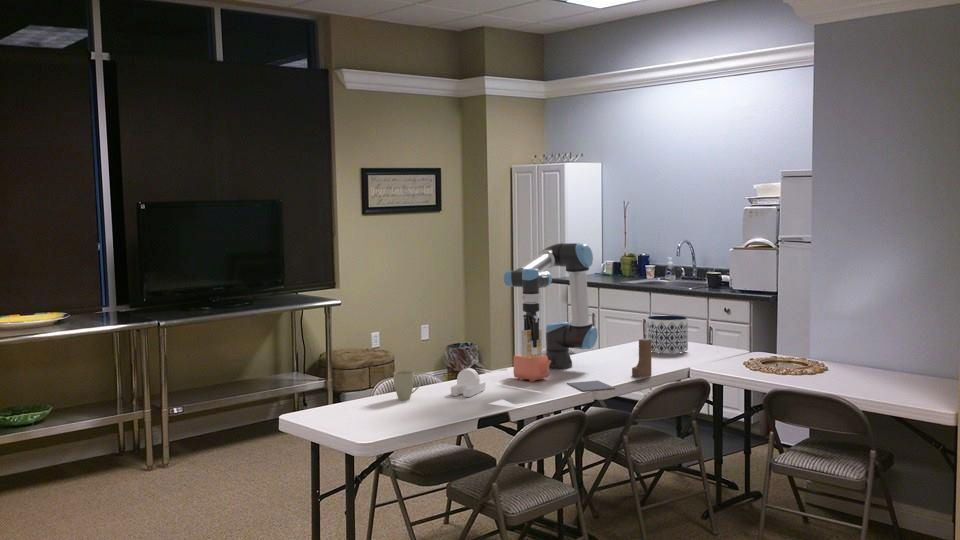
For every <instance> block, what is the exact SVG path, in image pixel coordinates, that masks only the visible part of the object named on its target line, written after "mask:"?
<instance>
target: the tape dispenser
mask: <svg viewBox="0 0 960 540" xmlns="http://www.w3.org/2000/svg"><path fill="white" fill-rule="evenodd" d="M456 377H457V378H456V384H454V385H453V386H450V396H454V397H457V396H459V395H463V398H464V397H465V398H471V397H472V396H475V395H478V394H479V393H482V392H484V391H486V381H482V380H480V375H479V373H478V372H477V370H476V369H474V368H471V367H468V368H464V369H462V370H461V371H459V373H458V374H457V376H456ZM483 390H484V391H483ZM481 391H482V392H481Z"/></svg>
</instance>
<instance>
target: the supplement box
mask: <svg viewBox="0 0 960 540" xmlns="http://www.w3.org/2000/svg"><path fill="white" fill-rule="evenodd" d="M520 334H521V336H520V337H521V339H520V340H521V354H522V359H526V360H529V359H537V358H542V355H543V354H542V351H543V349H542V348H543V347H542V346H543V345H542V340H543V339H542V338H543V337H542V335H543V334H542V329H539V339H538V340H537V354H536V355H531V340H530V339H532V337H531V330H524V329H521V331H520Z"/></svg>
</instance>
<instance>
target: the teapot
mask: <svg viewBox="0 0 960 540" xmlns="http://www.w3.org/2000/svg"><path fill="white" fill-rule="evenodd" d="M550 363H551V360H548V357H547V356H546V354H542V358H537V359H529V360H526V359H522V353H521V354H515V355H513V376H514V378H517V379H519V381H524V380H529V383H536V381H538V380H539V381H542V380H544V379H545V378H549V375H550V369H549V365H550Z"/></svg>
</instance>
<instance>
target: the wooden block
mask: <svg viewBox="0 0 960 540" xmlns="http://www.w3.org/2000/svg"><path fill="white" fill-rule="evenodd" d="M650 376H652V352H651V340H650V339H647V338H641V339H638V363H637V364H636V366H633V367H632V368H631V377H634V378H644V377H645V378H646V377H650Z"/></svg>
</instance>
